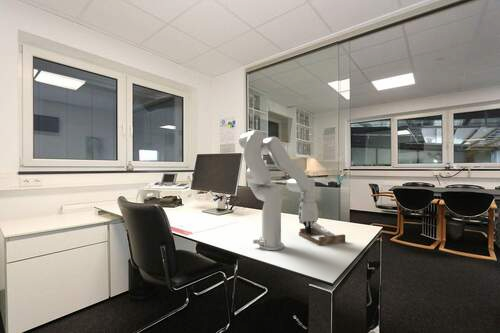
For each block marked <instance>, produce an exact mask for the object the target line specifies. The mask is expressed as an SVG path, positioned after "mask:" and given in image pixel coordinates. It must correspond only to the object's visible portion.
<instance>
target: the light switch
mask: <svg viewBox="0 0 500 333" xmlns="http://www.w3.org/2000/svg"><path fill="white" fill-rule="evenodd" d="M323 227H324V226H322V225H320V224H318V223H317V222H315V223H313V225H312V227H311V228H314V229H315V230H316V231H318V232H319V233H321V234H320V235H322V236H323V237H324V236H333V235H335V234H334V233H332V232H331V231H329V229H326V228H325V227H324V228H323Z"/></svg>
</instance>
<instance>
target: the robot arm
mask: <svg viewBox="0 0 500 333" xmlns="http://www.w3.org/2000/svg"><path fill="white" fill-rule="evenodd" d="M238 144H239V146H240V147H241V148H242V149H244V150H243V159H244V161H245V162H244V163H245V164H246V167H247V170H246V171H245V179H246V183H247V184H248V186H249V188H250V189H251V191H252V193H253V195H254V196H255V198H256V199H257V200H260V201H262V202H263V206H262V210H261V211H262V212H261V221H262V222H261V230H262V231H261V236H260V238H258V239H253V240H252V244H254V245H258V247H259V248H260V249H262V250H265V251H279V250H282V249H284V248H285V243H284V242H282V203H283V202H282V201H283V199H284V197H283V196H284V192H283V190H282V188H281V187H280V185H278V184H275V183H270V181H271V180H272V174H271V172H270V170H269V167H268V165H267V164H266V161H264V158H263V156H262V154H263V155H269V156H270V159H271V160H272V162H273V163H274V164H275V166H276V168H277V170H280V171H281V172H284V173H286V174H288V176H290V178H289V179H287V181H286V188H287V189H288V191H290V192H294V193H300V198H299V199H298V201H299V207H298V220H299V221H298V223H299V224H302V225H303V226H304V228H305V233H307V234H311V228H312V225H313V223H315V222H316V223H317V222H318V220H319V211H318V210H319V209H318V204H317V202H316V182H315V179H314V178H313V177H308V175H307V173H306V171H305V170H304V169H303V168H302V167H301V166H300V165H298V164H297V163H296V162H295V161H294V160H292V159H291V157H290V155H289V153H288V151H287V150H286V148H285V146H284V145H283V143H282V141H281V139H280V138H278V137H277V136H268V137H264V133H263V132H262V131H261V130H259V129H253V130H249V131H247V132H244V133H242V134H241V135H240V136H239V138H238Z"/></svg>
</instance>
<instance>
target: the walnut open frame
mask: <svg viewBox="0 0 500 333" xmlns="http://www.w3.org/2000/svg"><path fill="white" fill-rule="evenodd" d="M322 227H323V228H325V227H324V226H322ZM313 235H314V236H315V235H322V234H321V233H319V232H318V231H316V230H315V229H314V228H312V227H311V234H307V233H305V227H303V228H302V227H301V228H299V232H298V236H299V237H301V238H303V239H304V240H307V241H308V242H311V243H313V244H315V245H317V246H327V245H335V244H343V243H344V244H345V243H346V234H344V233H343V234H334V235H333V236H324V235H323V236H319V237H318V239H317V238H314V237H313Z"/></svg>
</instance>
